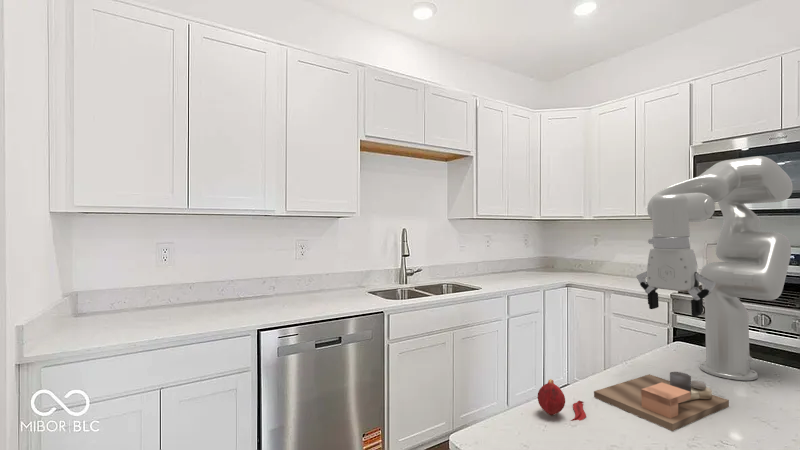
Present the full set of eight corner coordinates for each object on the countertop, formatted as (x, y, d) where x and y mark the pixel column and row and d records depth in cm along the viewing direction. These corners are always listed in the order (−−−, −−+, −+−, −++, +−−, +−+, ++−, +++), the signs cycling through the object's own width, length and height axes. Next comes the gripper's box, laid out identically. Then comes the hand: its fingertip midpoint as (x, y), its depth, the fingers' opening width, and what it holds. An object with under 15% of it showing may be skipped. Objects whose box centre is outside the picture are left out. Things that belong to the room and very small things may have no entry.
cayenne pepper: (578, 427, 82) (578, 418, 82) (557, 419, 85) (557, 410, 85) (599, 408, 90) (599, 400, 90) (579, 401, 94) (579, 394, 94)
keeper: (662, 399, 90) (661, 382, 90) (691, 409, 85) (690, 391, 85) (641, 406, 86) (641, 389, 86) (670, 418, 81) (669, 399, 81)
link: (695, 388, 95) (694, 366, 95) (717, 397, 90) (716, 373, 90) (651, 397, 90) (651, 374, 90) (672, 407, 85) (672, 382, 86)
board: (649, 379, 105) (649, 363, 105) (729, 406, 89) (728, 386, 89) (594, 397, 95) (593, 378, 95) (672, 431, 79) (672, 408, 79)
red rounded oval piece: (568, 422, 83) (567, 385, 83) (540, 420, 84) (539, 384, 84) (562, 410, 88) (561, 375, 88) (536, 408, 90) (535, 374, 90)
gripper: (627, 243, 101) (630, 308, 102) (704, 246, 86) (707, 321, 86) (644, 241, 105) (646, 303, 105) (720, 243, 90) (723, 316, 90)
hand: (674, 311), depth 96 cm, fingers open, 9 cm apart
